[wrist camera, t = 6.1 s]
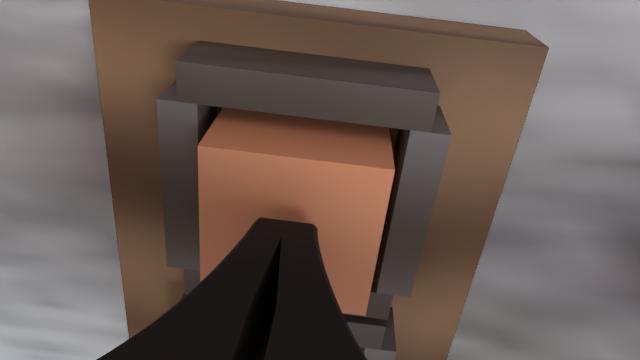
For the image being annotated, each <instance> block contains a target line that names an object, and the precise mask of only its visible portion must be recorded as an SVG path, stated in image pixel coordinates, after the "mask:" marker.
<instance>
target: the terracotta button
mask: <svg viewBox="0 0 640 360" xmlns="http://www.w3.org/2000/svg"><path fill="white" fill-rule="evenodd" d="M394 172H395V166H394V159H393V152H392V145H391V138H390V131H389V128H388V127H380V126H372V125H364V124H355V123H347V122H339V121H331V120H323V119H314V118H306V117H298V116H290V115H282V114H274V113H265V112H257V111H249V110H241V109H233V108H224V107H223V108H222V110H221V111H220V113H219V114H218V116H217V117H216V119H215V120H214V122H213V123H212V125H211V126H210V128H209V129H208V131H207V132H206V134H205V135H204V137H203V138H202V140H201V141H200V143H199V145H198V189H199V240H200V282H201V281H202V280H203V279H204V278H205V277H206V276H207V275H209V274H210V273H211V272H212V271H213V270H214V269H215V267H216V266H217V265H218V264H219V263H220V262H221V261H222V260H223V259H224V258H225V257H226V256H227V255H228V254H229V253H230V251H231V250H232V249H233V248H234V247H235V246H236V245H237V243H238V242H239V241H240V240H241V239H242V237H243V236H244V235H245V234H246V232H247V231H248V230H249V229H250V227H251V226H252V225H253V223H254V222H255V221H256V220H257V219H259V218H260V217H261V218H269V219H277V220H286V221H294V222H302V223H310V224H314V225H315V226H316V228H317V229H318V242H319V247H320V252H321V256H322V260H323V263H324V266H325V270H326V273H327V276H328V278H329V281H330V284H331V287H332V290H333V292H334V295H335V297H336V300H337V302H338V304H339V307H340V309H341V311H342V313H347V314H355V315H363V316H366V311H367V306H368V301H369V296H370V291H371V287H372V282H373V277H374V272H375V267H376V262H377V257H378V252H379V247H380V242H381V237H382V232H383V227H384V222H385V217H386V212H387V207H388V202H389V197H390V192H391V187H392V182H393V177H394Z"/></svg>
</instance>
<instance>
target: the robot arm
mask: <svg viewBox="0 0 640 360" xmlns="http://www.w3.org/2000/svg"><path fill="white" fill-rule="evenodd" d="M97 360H367V358H366V357H365V355H364V354H363V352H362V350H361V348H360V347H359V345H358V343H357V341H356V339H355V338H354V336H353V334H352V332H351V330H350V328H349V326H348V324H347V322H346V320H345V318H344V316H343V313H342V311H341V309H340V307H339V304H338V302H337V300H336V297H335V295H334V292H333V290H332V287H331V284H330V281H329V278H328V276H327V273H326V270H325V266H324V263H323V260H322V256H321V252H320V247H319V242H318V229H317V228H316V226H315V225H314V224H310V223H302V222H294V221H286V220H277V219H269V218H261V217H260V218H259V219H257V220H256V221H255V222H254V223H253V225H252V226H251V227H250V229H249V230H248V231H247V232H246V234H245V235H244V236H243V237H242V239H241V240H240V241H239V242H238V243H237V245H236V246H235V247H234V248H233V249H232V250H231V251H230V253H229V254H228V255H227V256H226V257H225V258H224V259H223V260H222V261H221V262H220V263H219V264H218V265H217V266H216V267H215V269H214V270H213V271H212V272H211V273H210V274H209V275H207V276H206V277H205V278H204V279H203V280H202V281H201V282H200V283H199V284H198V285H197V286H196V287H195V288H194V289H192V290H191V291H190V292H189V293H188V294H187V295H186V296H185V297H184V298H182V299H181V300H180V301H179V302H178V303H177V304H175V305H174V306H173V307H172V308H171V309H169V310H168V311H167V312H165V313H164V314H163V315H162V316H160V317H159V318H158V319H156V320H155V321H154V322H153V323H151V324H150V325H148V326H147V327H146V328H144V329H143V330H141V331H140V332H138V333H137V334H136V335H134V336H133V337H131V338H130V339H128V340H127V341H126V342H124V343H123V344H121V345H119V346H118V347H116V348H115V349H113V350H112V351H110V352H109V353H107V354H105V355H104V356H102V357H100V358H99V359H97Z"/></svg>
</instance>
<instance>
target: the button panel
mask: <svg viewBox="0 0 640 360" xmlns="http://www.w3.org/2000/svg"><path fill="white" fill-rule="evenodd" d="M89 7H90V16H91V24H92V32H93V41H94V49H95V58H96V66H97V74H98V83H99V91H100V99H101V108H102V116H103V124H104V133H105V141H106V149H107V158H108V166H109V174H110V183H111V191H112V199H113V208H114V216H115V224H116V233H117V241H118V249H119V258H120V266H121V275H122V283H123V291H124V300H125V308H126V316H127V325H128V333H129V339H130V338H131V337H133V336H134V335H136V334H137V333H138V332H140V331H141V330H143V329H144V328H146V327H147V326H148V325H150V324H151V323H153V322H154V321H155V320H156V319H158V318H159V317H160V316H162V315H163V314H164V313H165V312H167V311H168V310H169V309H171V308H172V307H173V306H174V305H175V304H177V303H178V302H179V301H180V300H181V299H182V298H184V297H185V296H186V295H187V294H188V293H189V292H190V291H191V290H192V289H194V288H195V287H196V286H197V285H198V284H199V283H200V240H199V189H198V145H199V143H200V141H201V140H202V138H203V137H204V135H205V134H206V132H207V131H208V129H209V128H210V126H211V125H212V123H213V122H214V120H215V119H216V117H217V116H218V114H219V113H220V111H221V110H222V108H223V107H224V108H233V109H241V110H249V111H257V112H265V113H274V114H282V115H290V116H298V117H306V118H314V119H323V120H331V121H339V122H347V123H355V124H364V125H372V126H380V127H388V128H389V131H390V138H391V145H392V152H393V159H394V166H395V172H394V177H393V182H392V187H391V192H390V197H389V202H388V207H387V212H386V217H385V222H384V227H383V232H382V237H381V242H380V247H379V252H378V257H377V262H376V267H375V272H374V277H373V282H372V287H371V291H370V296H369V301H368V306H367V311H366V316H363V315H355V314H347V313H343V316H344V318H345V320H346V322H347V324H348V326H349V328H350V330H351V332H352V334H353V336H354V338H355V339H356V341H357V343H358V345H359V347H360V348H361V350H362V352H363V354H364V355H365V357H366V358H367V360H446V359H447V356H448V353H449V350H450V347H451V344H452V341H453V338H454V335H455V331H456V328H457V325H458V322H459V319H460V316H461V313H462V310H463V307H464V304H465V301H466V298H467V295H468V292H469V289H470V286H471V283H472V280H473V277H474V274H475V271H476V268H477V265H478V262H479V259H480V256H481V253H482V250H483V247H484V243H485V240H486V237H487V234H488V231H489V228H490V225H491V222H492V219H493V216H494V213H495V210H496V207H497V204H498V201H499V198H500V195H501V192H502V189H503V186H504V183H505V180H506V177H507V174H508V171H509V168H510V165H511V162H512V158H513V155H514V152H515V149H516V146H517V143H518V140H519V137H520V134H521V131H522V128H523V125H524V122H525V119H526V116H527V113H528V110H529V107H530V104H531V101H532V98H533V95H534V92H535V89H536V86H537V83H538V80H539V77H540V74H541V70H542V67H543V64H544V61H545V58H546V55H547V52H548V49H549V47H547V46H546V45H545V44H543V43H542V42H541V41H539V40H538V39H537V38H535V37H534V36H533V35H531V34H530V33H529V32H527V31H526V30H518V29H509V28H501V27H493V26H485V25H476V24H468V23H460V22H451V21H443V20H435V19H426V18H418V17H410V16H401V15H393V14H385V13H377V12H368V11H360V10H352V9H343V8H335V7H327V6H318V5H310V4H302V3H293V2H285V1H277V0H89Z"/></svg>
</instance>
